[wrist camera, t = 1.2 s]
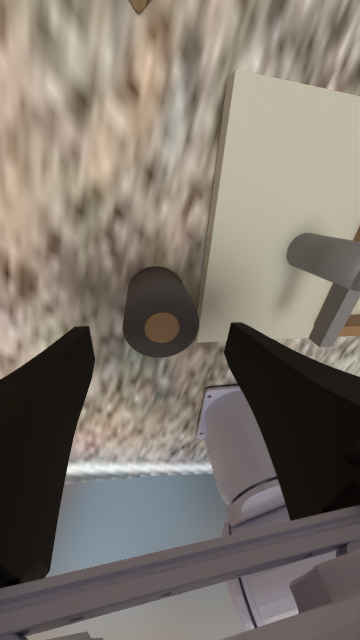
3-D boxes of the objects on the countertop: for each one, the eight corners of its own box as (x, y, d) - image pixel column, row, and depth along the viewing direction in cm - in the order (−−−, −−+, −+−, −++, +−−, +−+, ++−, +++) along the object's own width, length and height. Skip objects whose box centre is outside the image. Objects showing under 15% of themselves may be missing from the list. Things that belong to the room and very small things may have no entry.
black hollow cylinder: (181, 318, 17) (195, 356, 13) (129, 319, 17) (125, 360, 12) (186, 267, 15) (204, 293, 11) (126, 265, 14) (119, 293, 10)
